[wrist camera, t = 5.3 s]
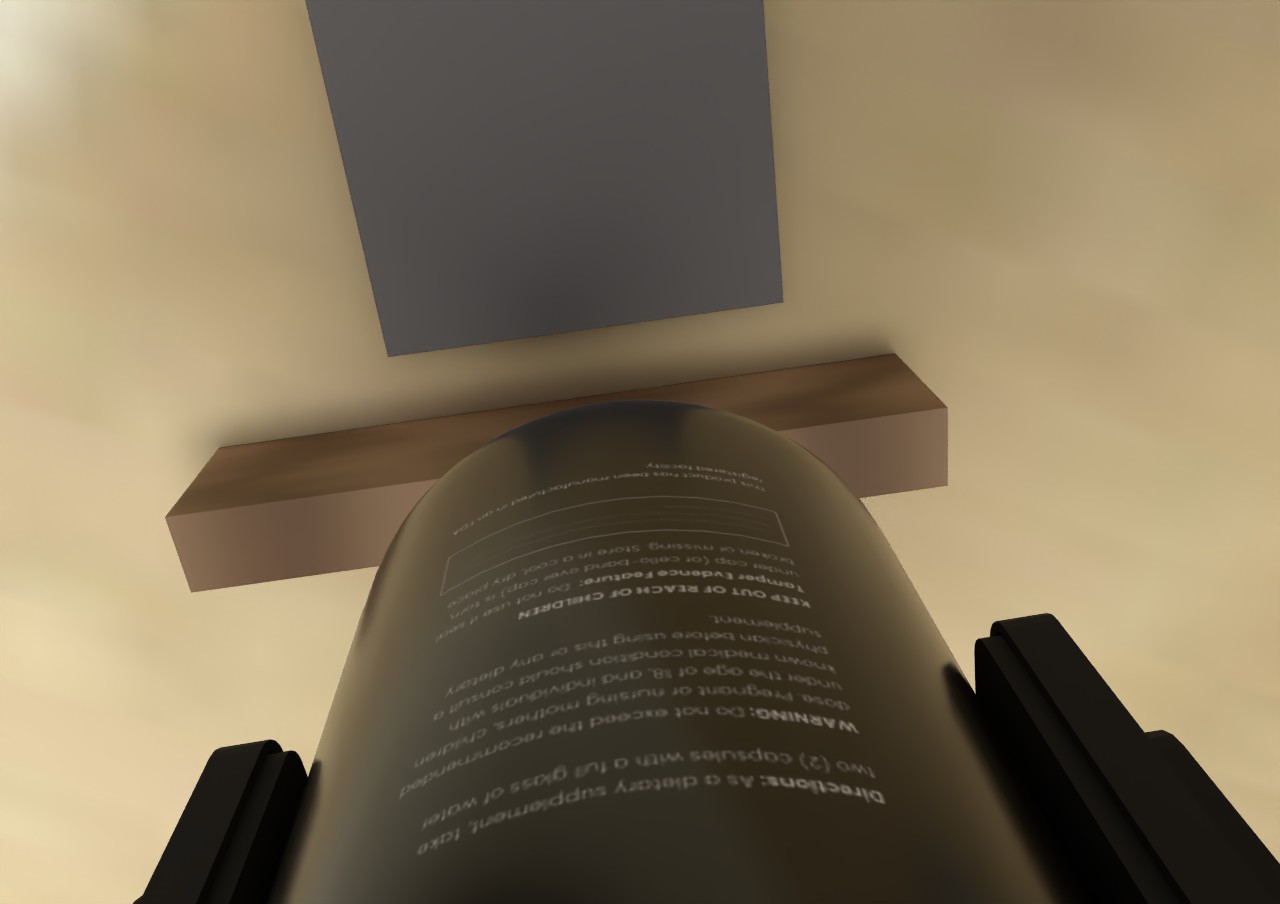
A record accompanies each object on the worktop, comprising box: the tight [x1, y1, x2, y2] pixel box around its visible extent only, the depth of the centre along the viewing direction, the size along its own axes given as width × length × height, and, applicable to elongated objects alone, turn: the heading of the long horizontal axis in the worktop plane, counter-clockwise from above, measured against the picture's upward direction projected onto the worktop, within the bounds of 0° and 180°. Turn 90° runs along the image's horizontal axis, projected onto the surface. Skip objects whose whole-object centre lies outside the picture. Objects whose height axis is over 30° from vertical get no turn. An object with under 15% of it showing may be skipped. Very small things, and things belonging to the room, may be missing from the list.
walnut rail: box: [165, 354, 948, 592], centre depth 26 cm, size 18×2×4 cm, turn 97°
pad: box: [305, 0, 783, 357], centre depth 24 cm, size 10×10×1 cm
